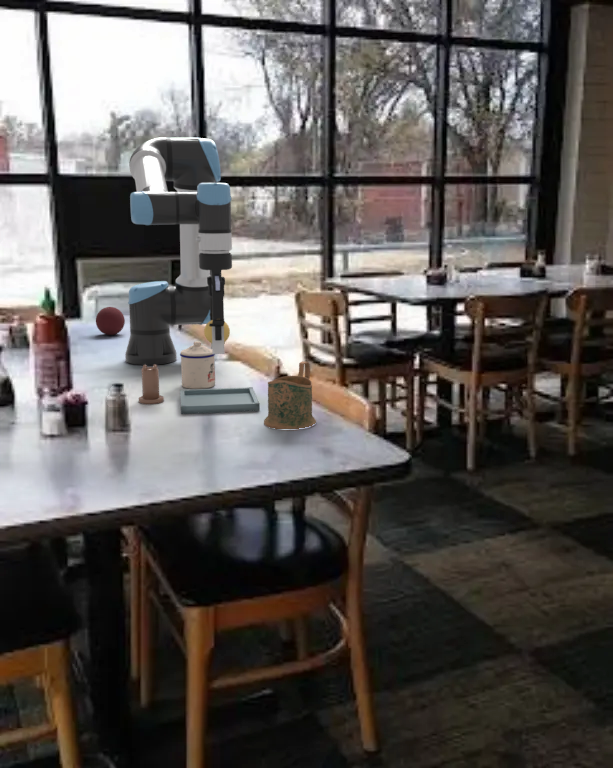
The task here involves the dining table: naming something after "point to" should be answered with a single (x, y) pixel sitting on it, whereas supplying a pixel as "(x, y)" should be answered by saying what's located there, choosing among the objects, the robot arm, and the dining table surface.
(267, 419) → the brown green vessel
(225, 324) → the ball
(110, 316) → the decorative ball
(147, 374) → the stand cup
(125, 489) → the dining table surface
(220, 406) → the tray
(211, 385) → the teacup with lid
